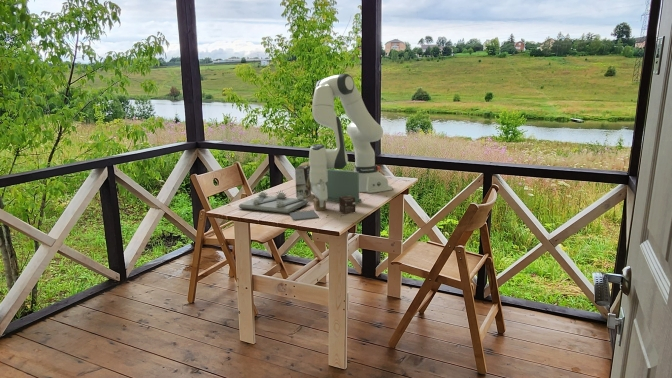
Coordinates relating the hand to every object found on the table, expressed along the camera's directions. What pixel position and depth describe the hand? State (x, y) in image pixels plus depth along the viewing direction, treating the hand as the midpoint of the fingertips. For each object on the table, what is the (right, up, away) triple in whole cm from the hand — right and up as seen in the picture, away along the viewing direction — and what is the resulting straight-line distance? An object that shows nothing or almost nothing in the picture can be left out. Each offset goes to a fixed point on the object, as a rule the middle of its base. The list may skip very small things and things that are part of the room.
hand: (319, 205), depth 239 cm
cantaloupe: (-8, +10, +53) cm, 54 cm away
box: (+14, -3, -6) cm, 15 cm away
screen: (+10, +2, +16) cm, 19 cm away
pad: (-7, -5, -11) cm, 14 cm away
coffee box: (-10, +4, +29) cm, 31 cm away
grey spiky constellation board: (-24, -1, +8) cm, 25 cm away
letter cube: (0, -2, 0) cm, 2 cm away
